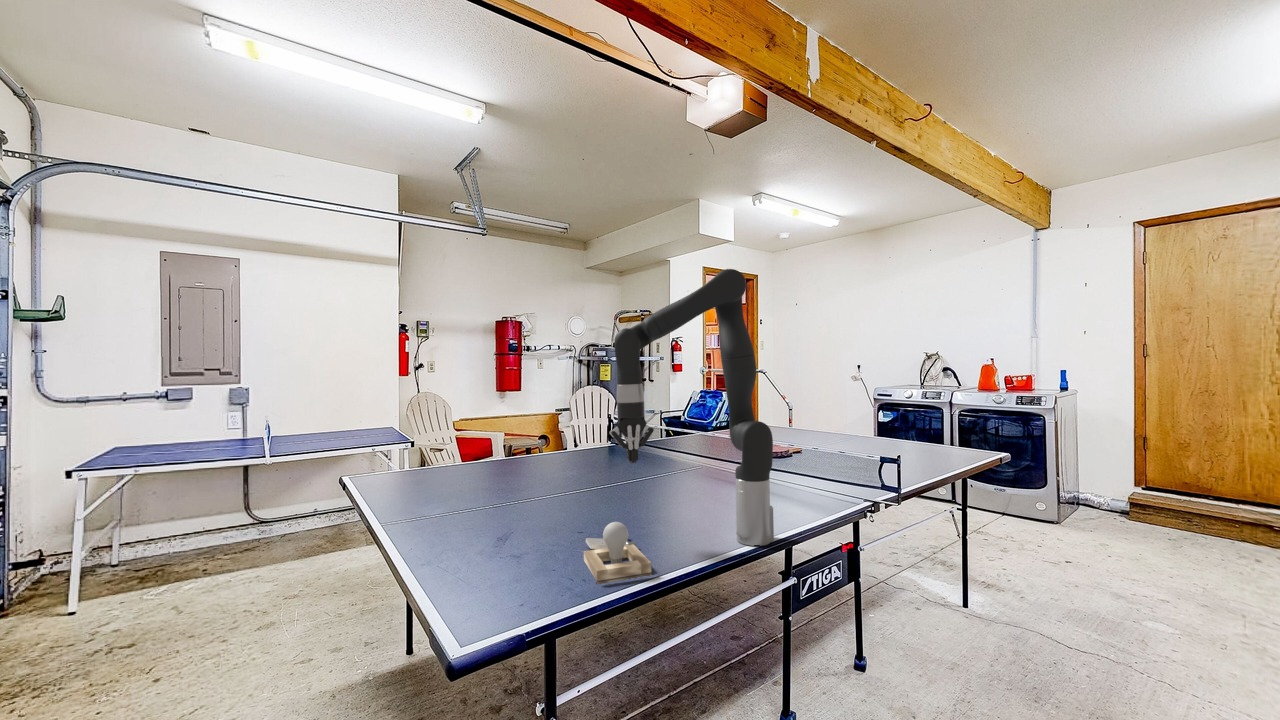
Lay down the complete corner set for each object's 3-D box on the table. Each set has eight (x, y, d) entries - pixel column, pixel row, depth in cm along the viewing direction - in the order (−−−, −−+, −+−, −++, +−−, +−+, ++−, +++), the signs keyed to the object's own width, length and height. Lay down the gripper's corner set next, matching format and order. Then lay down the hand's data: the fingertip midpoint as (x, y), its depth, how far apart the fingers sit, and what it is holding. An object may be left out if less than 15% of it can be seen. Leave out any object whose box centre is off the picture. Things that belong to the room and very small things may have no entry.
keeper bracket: (626, 541, 138) (626, 532, 138) (636, 552, 130) (636, 543, 130) (619, 542, 138) (619, 533, 138) (629, 553, 129) (629, 544, 129)
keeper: (590, 549, 128) (591, 544, 128) (585, 542, 133) (586, 537, 133) (633, 550, 131) (633, 545, 131) (626, 543, 137) (627, 538, 137)
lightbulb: (626, 573, 116) (624, 526, 117) (600, 572, 117) (599, 525, 118) (631, 563, 122) (630, 518, 123) (607, 562, 123) (606, 518, 124)
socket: (633, 556, 127) (633, 544, 128) (651, 575, 115) (651, 562, 115) (583, 563, 123) (583, 551, 123) (596, 584, 111) (596, 570, 111)
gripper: (611, 402, 133) (614, 467, 132) (657, 399, 137) (659, 462, 137) (603, 401, 140) (606, 462, 140) (647, 398, 144) (650, 458, 144)
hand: (632, 462), depth 138 cm, fingers closed
